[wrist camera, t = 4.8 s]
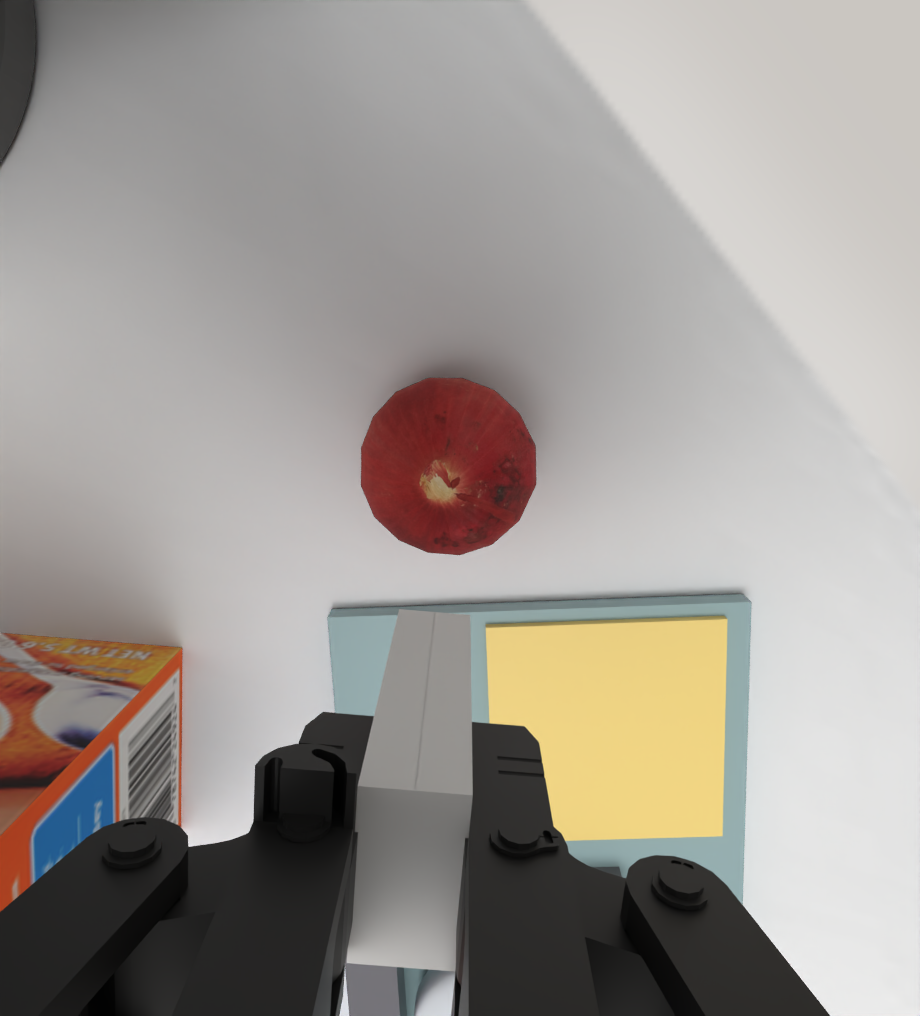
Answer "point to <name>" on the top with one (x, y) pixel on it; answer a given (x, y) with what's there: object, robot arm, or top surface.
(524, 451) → the onion
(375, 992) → the dome housing
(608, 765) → the pad
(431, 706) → the robot arm
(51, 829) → the cereal box
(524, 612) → the board
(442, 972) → the dome
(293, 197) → the top surface
